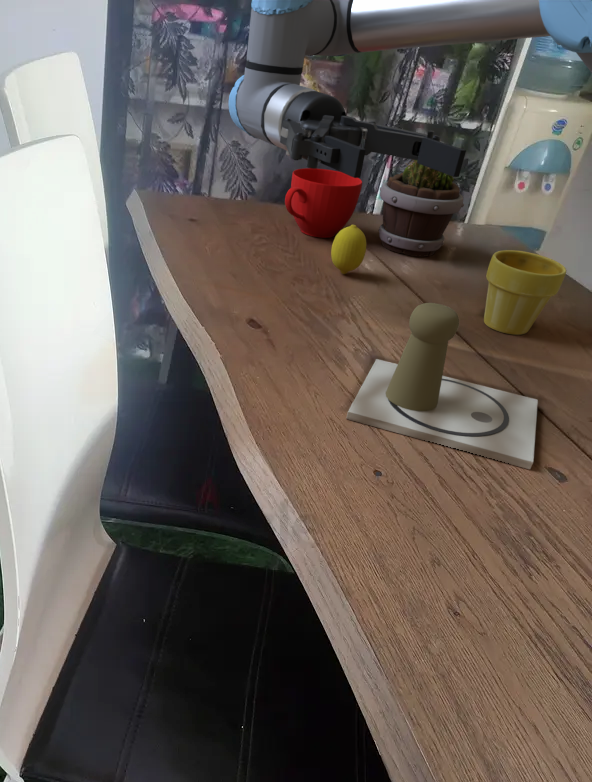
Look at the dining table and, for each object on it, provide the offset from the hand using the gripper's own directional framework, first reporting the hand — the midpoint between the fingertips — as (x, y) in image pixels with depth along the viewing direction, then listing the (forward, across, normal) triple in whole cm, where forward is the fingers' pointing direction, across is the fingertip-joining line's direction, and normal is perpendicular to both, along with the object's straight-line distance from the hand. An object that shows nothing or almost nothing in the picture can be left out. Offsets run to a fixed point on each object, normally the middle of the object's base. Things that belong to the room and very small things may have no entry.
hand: (412, 163), depth 78 cm
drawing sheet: (+12, -3, -24) cm, 27 cm away
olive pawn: (+10, 0, -23) cm, 25 cm away
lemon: (-32, -19, -24) cm, 44 cm away
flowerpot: (-42, -41, -24) cm, 64 cm away
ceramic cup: (-53, -26, -24) cm, 64 cm away
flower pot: (-7, -32, -24) cm, 41 cm away
